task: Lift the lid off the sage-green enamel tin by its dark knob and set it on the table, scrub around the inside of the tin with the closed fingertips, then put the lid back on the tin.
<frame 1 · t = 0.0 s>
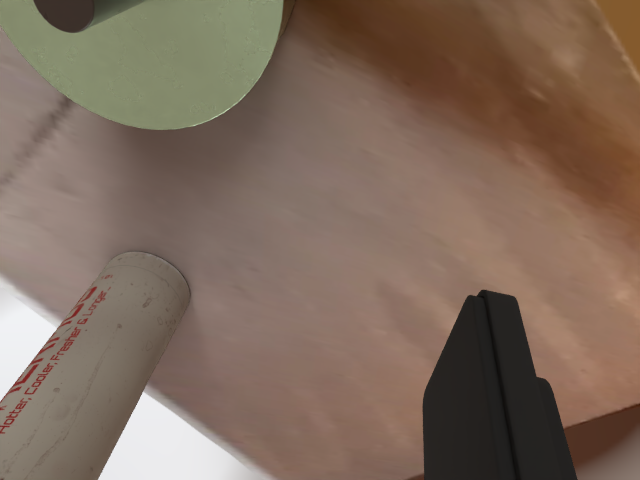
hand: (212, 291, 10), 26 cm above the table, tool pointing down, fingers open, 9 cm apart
thermos bottle: (148, 284, 47), on the table
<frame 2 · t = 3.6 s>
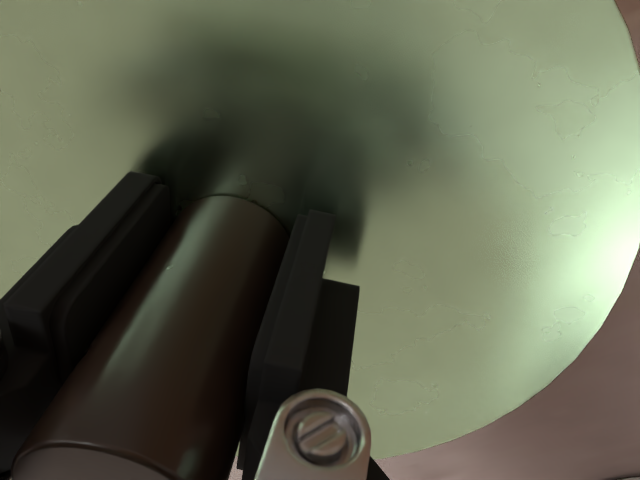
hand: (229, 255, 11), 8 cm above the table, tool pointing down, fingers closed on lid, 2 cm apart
lid: (239, 234, 11), point 7 cm above the table, touching gripper, tin
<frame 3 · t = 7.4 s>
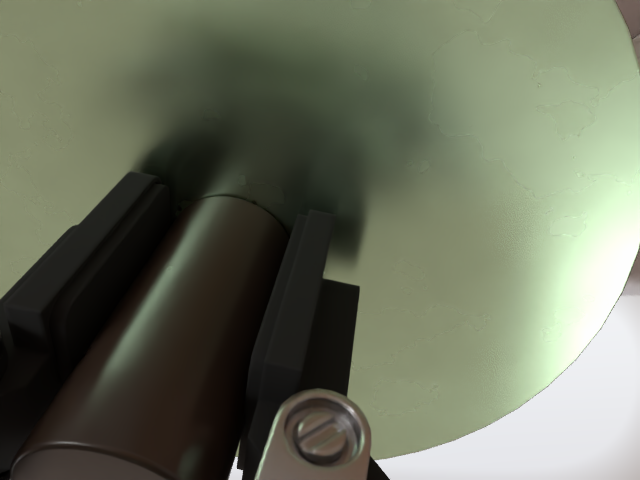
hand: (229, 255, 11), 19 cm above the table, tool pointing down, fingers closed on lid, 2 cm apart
lid: (239, 235, 11), point 18 cm above the table, touching gripper
when the fingers open (1 cm above the table, at t = 11.3 s): lid stays where it is, point 1 cm above the table.
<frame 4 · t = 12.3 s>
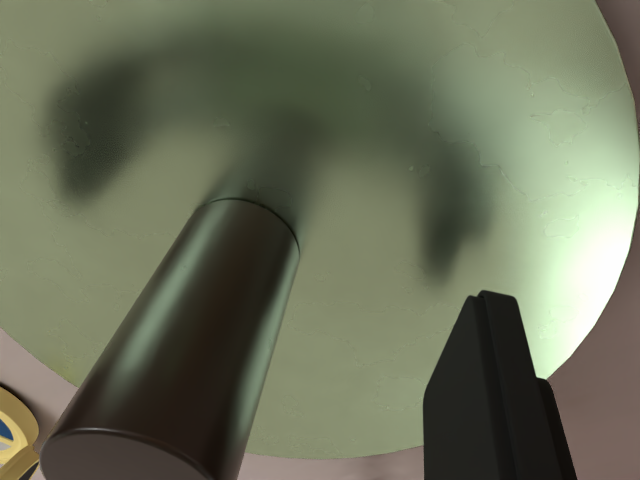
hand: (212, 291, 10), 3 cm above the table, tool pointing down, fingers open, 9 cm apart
lid: (247, 236, 12), point 1 cm above the table
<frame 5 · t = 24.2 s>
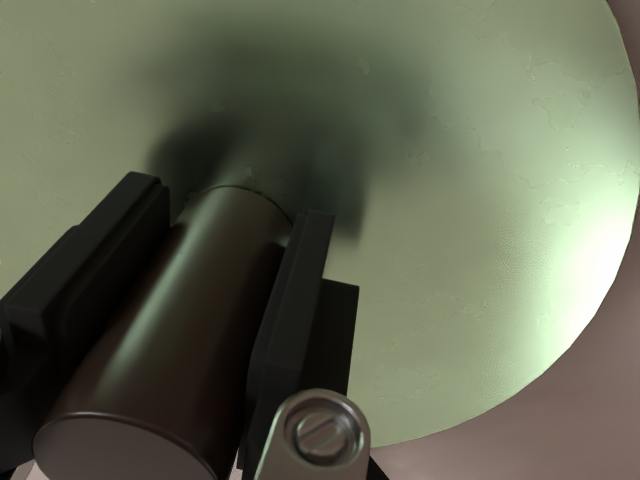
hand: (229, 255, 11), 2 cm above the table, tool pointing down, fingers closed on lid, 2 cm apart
lid: (244, 225, 12), point 1 cm above the table, touching gripper
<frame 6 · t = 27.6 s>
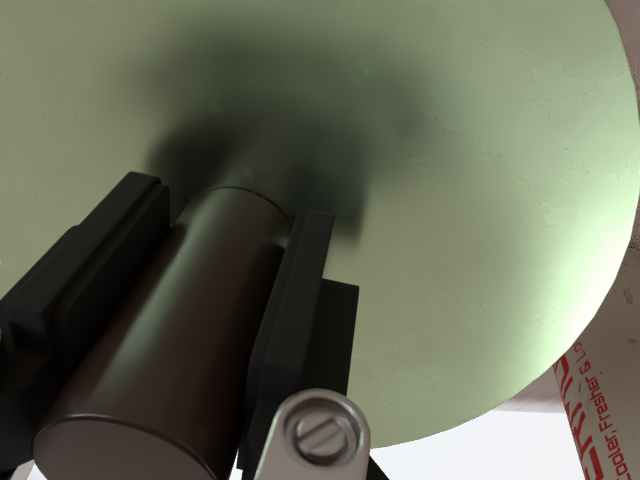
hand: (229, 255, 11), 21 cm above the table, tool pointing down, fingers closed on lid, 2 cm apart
lid: (244, 226, 12), point 20 cm above the table, touching gripper
thermos bottle: (596, 290, 35), on the table
when the fingers open (8 cm above the table, at t = 31.1 s): lid stays where it is, resting on tin.
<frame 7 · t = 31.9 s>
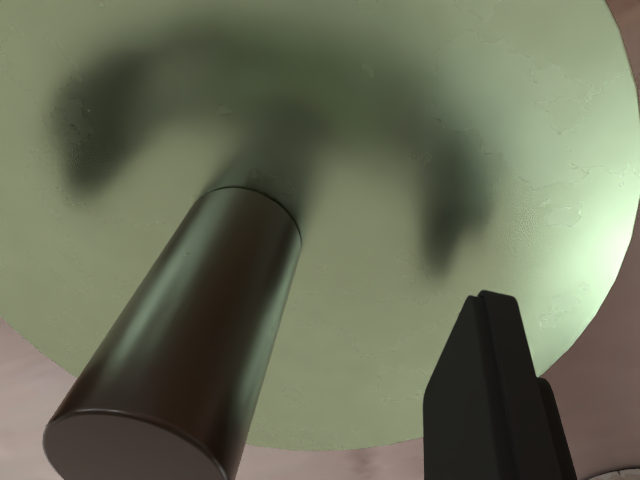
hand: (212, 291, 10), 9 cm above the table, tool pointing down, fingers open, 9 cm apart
lid: (249, 226, 12), point 7 cm above the table, touching tin
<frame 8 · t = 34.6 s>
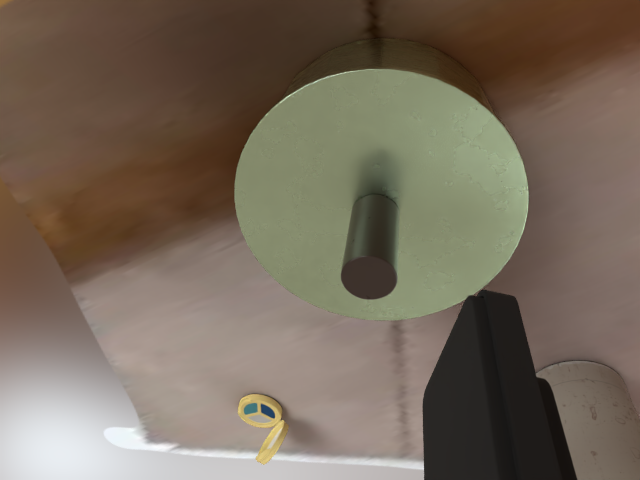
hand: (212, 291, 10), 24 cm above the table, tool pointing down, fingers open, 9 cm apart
lid: (375, 210, 28), point 7 cm above the table, touching tin
eyeshadow: (263, 408, 52), on the table
tin: (380, 153, 34), on the table
thermos bottle: (572, 390, 44), on the table
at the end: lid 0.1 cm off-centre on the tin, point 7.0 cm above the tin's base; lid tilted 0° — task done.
